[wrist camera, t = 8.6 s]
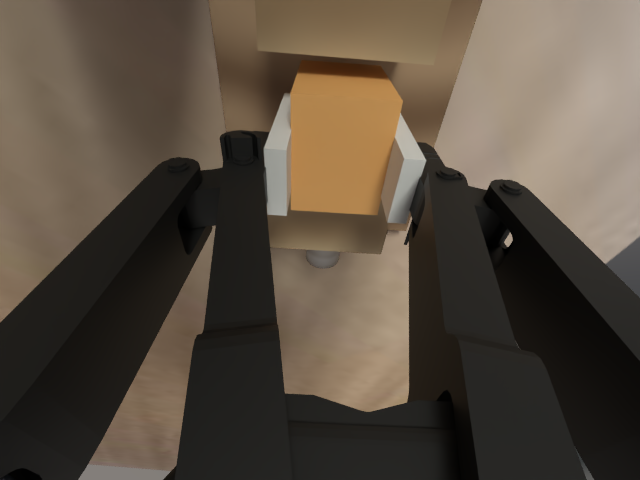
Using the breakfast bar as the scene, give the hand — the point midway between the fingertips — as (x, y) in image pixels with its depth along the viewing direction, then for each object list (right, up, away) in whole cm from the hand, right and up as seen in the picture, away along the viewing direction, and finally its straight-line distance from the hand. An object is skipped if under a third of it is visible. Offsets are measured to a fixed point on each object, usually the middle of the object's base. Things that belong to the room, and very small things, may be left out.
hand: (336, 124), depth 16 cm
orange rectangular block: (0, +1, +1) cm, 1 cm away
